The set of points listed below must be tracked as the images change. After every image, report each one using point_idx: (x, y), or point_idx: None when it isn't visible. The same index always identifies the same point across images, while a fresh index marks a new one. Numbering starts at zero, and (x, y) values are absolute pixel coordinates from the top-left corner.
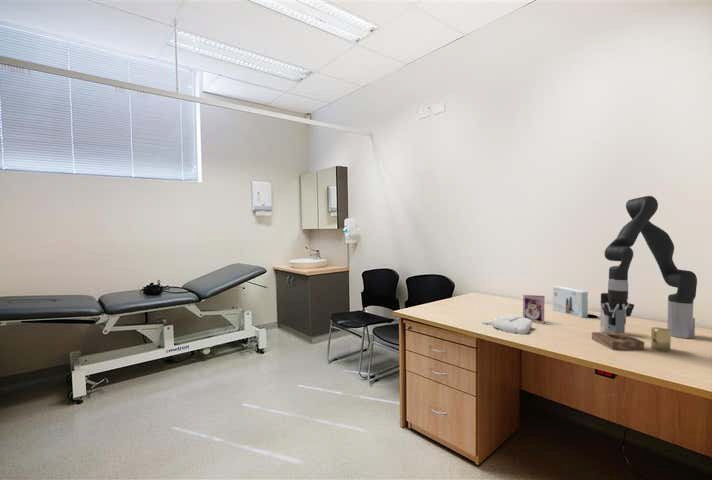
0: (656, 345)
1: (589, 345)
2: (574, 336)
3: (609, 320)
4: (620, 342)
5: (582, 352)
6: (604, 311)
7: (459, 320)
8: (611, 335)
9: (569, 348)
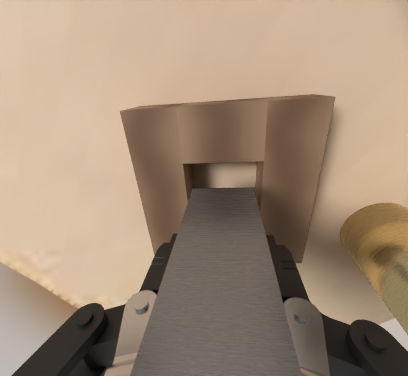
0: (351, 256)
1: (98, 195)
2: (58, 51)
3: (152, 269)
4: None
5: (58, 255)
6: (38, 369)
7: None
8: (217, 161)
9: (22, 225)
